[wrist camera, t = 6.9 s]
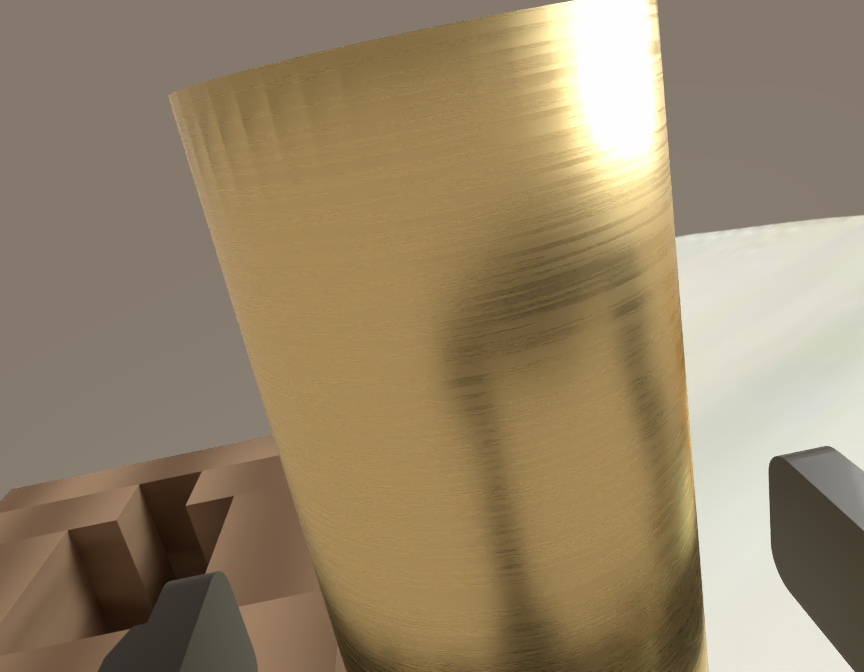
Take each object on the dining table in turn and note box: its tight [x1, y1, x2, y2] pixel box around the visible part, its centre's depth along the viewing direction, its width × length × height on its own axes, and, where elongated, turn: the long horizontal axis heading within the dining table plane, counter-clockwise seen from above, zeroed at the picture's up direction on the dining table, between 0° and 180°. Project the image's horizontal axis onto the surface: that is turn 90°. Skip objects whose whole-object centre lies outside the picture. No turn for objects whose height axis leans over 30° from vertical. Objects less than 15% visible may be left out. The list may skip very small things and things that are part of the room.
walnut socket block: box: [0, 435, 346, 672], centre depth 22 cm, size 14×14×6 cm
